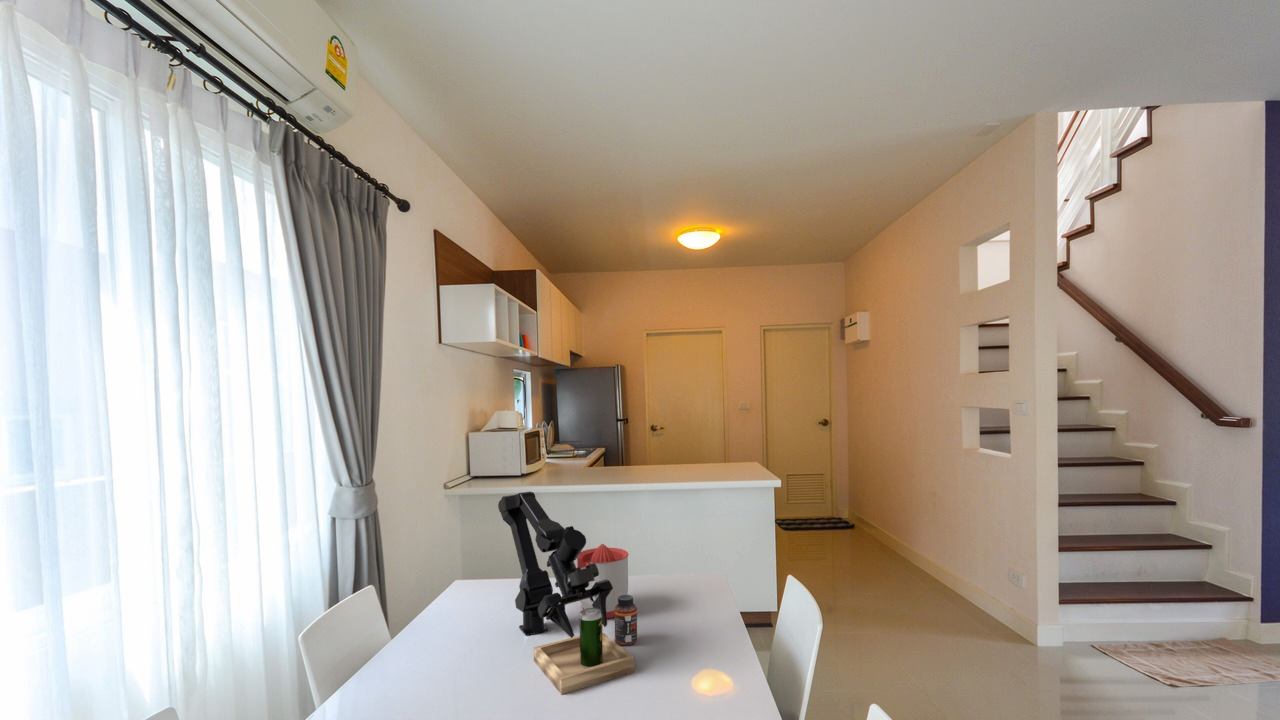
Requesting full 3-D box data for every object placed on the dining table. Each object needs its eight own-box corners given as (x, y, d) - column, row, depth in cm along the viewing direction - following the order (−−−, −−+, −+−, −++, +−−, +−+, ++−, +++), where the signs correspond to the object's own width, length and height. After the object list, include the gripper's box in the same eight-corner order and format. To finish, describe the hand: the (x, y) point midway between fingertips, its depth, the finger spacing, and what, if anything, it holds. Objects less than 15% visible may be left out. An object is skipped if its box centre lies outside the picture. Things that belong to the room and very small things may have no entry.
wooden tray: (533, 661, 132) (533, 647, 132) (600, 642, 141) (600, 630, 141) (561, 694, 116) (561, 679, 116) (634, 671, 125) (634, 657, 125)
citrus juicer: (562, 614, 161) (561, 545, 162) (608, 598, 172) (606, 534, 174) (594, 629, 149) (592, 555, 151) (640, 612, 161) (639, 543, 162)
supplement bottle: (635, 647, 137) (633, 601, 138) (612, 646, 139) (611, 600, 140) (639, 637, 143) (638, 593, 144) (618, 636, 144) (617, 592, 145)
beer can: (581, 671, 123) (580, 617, 124) (578, 661, 128) (577, 609, 129) (604, 668, 125) (603, 614, 126) (600, 657, 130) (599, 606, 131)
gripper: (542, 561, 127) (567, 624, 118) (608, 546, 139) (635, 603, 129) (528, 587, 133) (550, 649, 123) (592, 571, 144) (616, 626, 135)
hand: (589, 631), depth 127 cm, fingers open, 9 cm apart
